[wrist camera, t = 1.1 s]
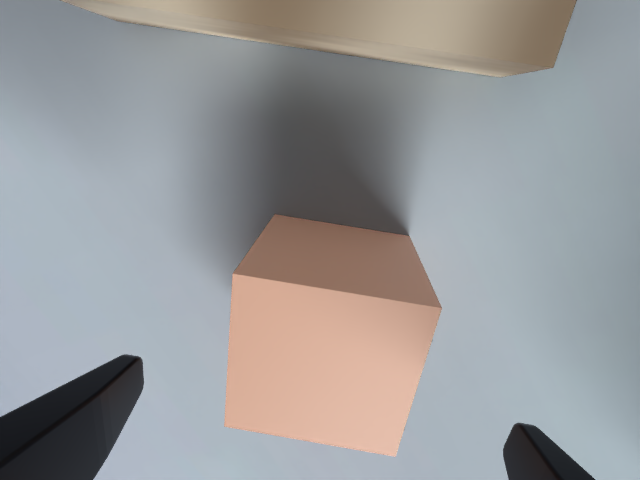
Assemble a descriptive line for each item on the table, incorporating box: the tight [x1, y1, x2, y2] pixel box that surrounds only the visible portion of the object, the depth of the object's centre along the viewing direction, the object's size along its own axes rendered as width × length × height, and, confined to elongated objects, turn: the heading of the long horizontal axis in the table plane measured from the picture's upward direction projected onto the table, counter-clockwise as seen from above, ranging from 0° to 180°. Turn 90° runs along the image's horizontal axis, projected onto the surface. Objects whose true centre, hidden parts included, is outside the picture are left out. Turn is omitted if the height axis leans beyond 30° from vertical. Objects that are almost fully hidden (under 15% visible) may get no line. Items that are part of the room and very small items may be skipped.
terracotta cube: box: [224, 214, 442, 457], centre depth 12 cm, size 5×5×5 cm
